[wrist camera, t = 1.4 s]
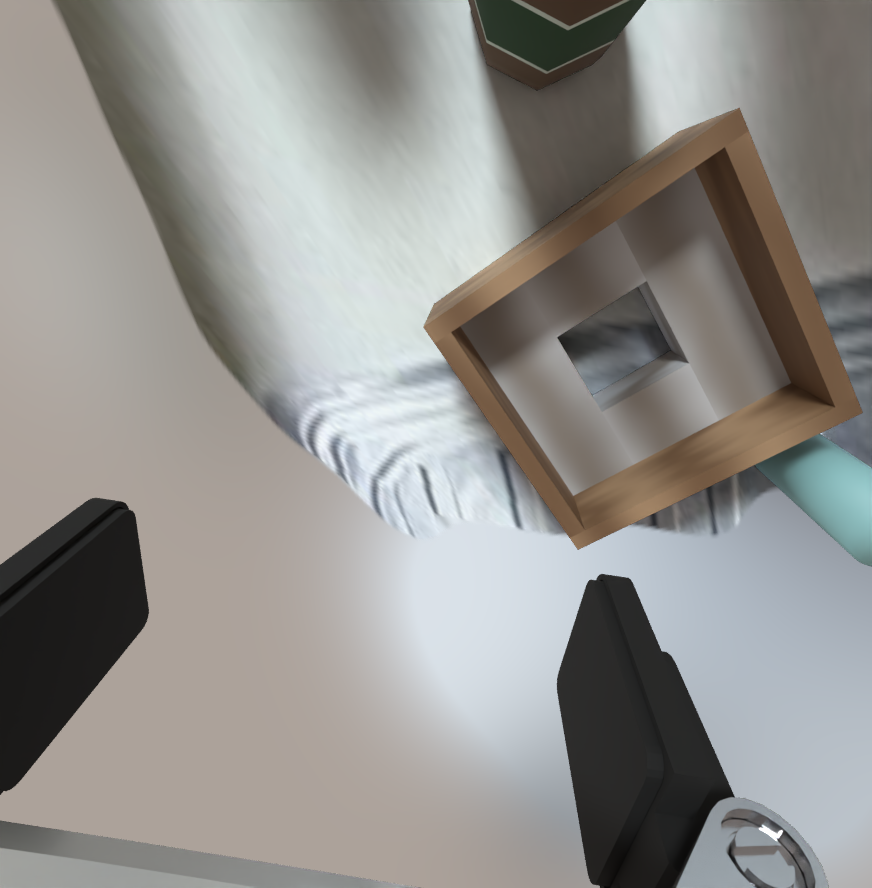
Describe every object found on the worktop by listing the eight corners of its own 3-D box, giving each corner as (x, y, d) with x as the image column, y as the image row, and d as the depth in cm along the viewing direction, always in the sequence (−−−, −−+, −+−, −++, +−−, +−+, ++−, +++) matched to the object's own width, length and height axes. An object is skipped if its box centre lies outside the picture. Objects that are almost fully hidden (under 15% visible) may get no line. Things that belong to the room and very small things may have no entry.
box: (678, 131, 27) (739, 107, 21) (786, 372, 32) (862, 412, 26) (434, 303, 32) (423, 326, 26) (560, 491, 37) (577, 549, 30)
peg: (803, 409, 33) (926, 485, 24) (824, 456, 34) (948, 545, 25) (741, 440, 34) (836, 523, 25) (764, 484, 35) (862, 578, 26)
